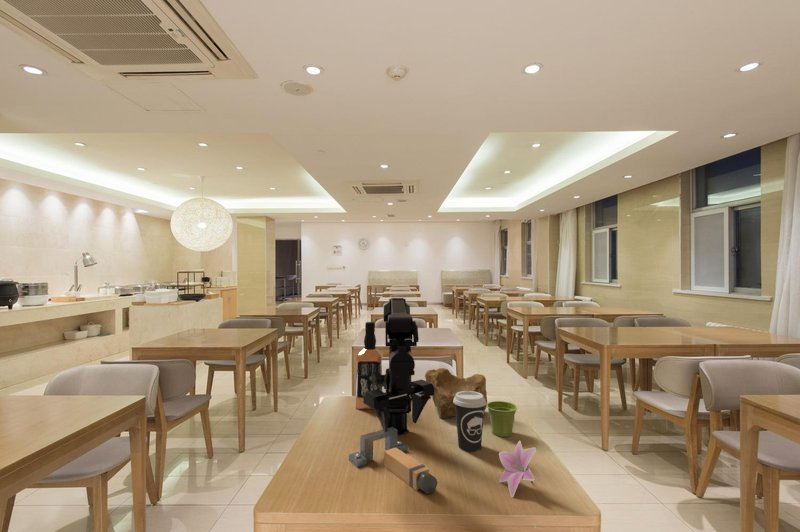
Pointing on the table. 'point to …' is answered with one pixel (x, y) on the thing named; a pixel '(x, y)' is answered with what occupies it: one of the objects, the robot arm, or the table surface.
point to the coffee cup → (469, 419)
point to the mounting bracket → (367, 445)
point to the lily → (516, 466)
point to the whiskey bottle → (368, 365)
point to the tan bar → (409, 470)
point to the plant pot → (501, 417)
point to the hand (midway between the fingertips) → (400, 427)
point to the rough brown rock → (452, 389)
